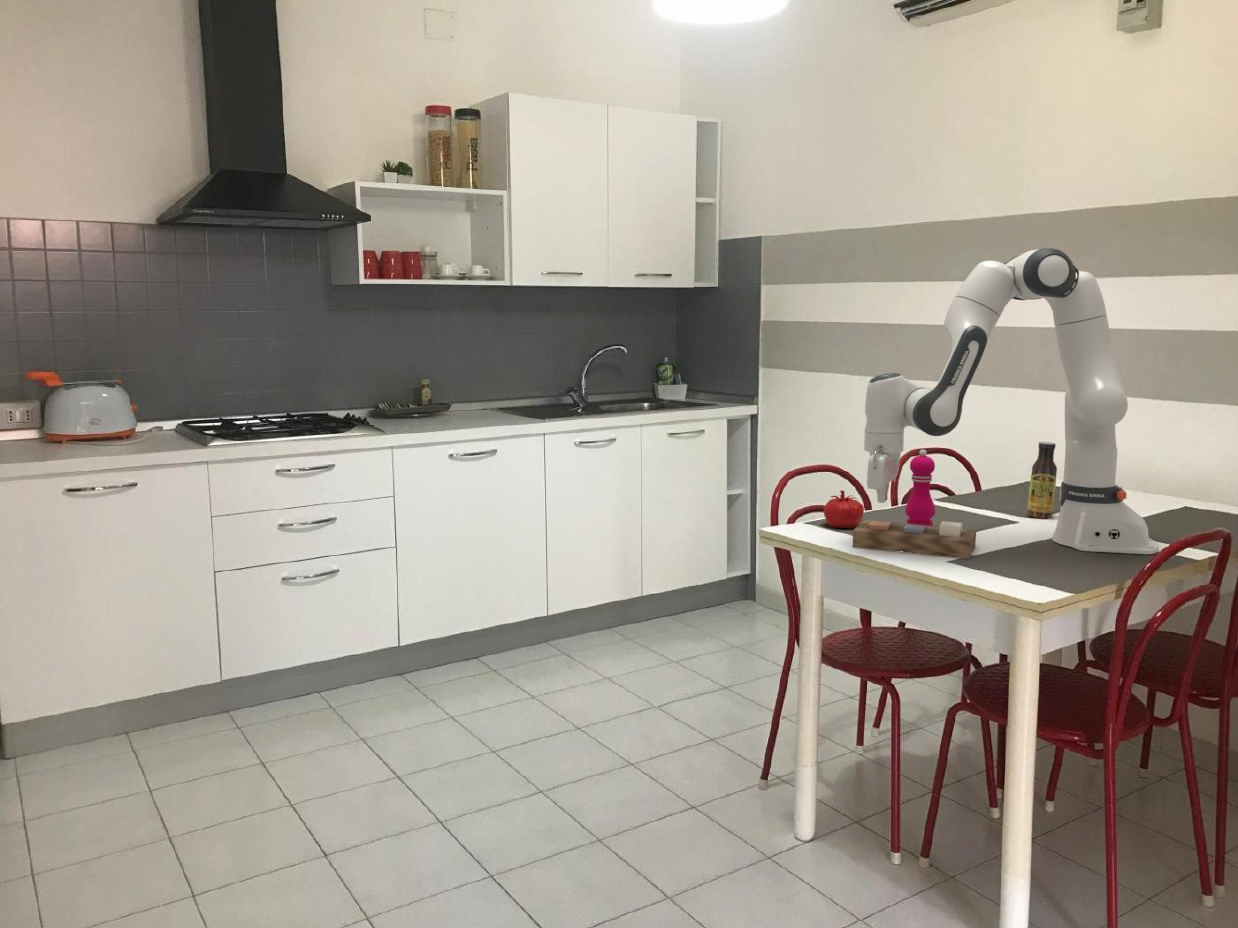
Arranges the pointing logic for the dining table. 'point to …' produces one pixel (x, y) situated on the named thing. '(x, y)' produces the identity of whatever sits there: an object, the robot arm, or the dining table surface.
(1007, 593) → the dining table surface
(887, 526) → the terracotta button
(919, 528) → the slate button
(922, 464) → the pepper mill
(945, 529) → the cream button
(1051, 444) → the sauce bottle
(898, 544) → the button panel
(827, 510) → the red tomato
